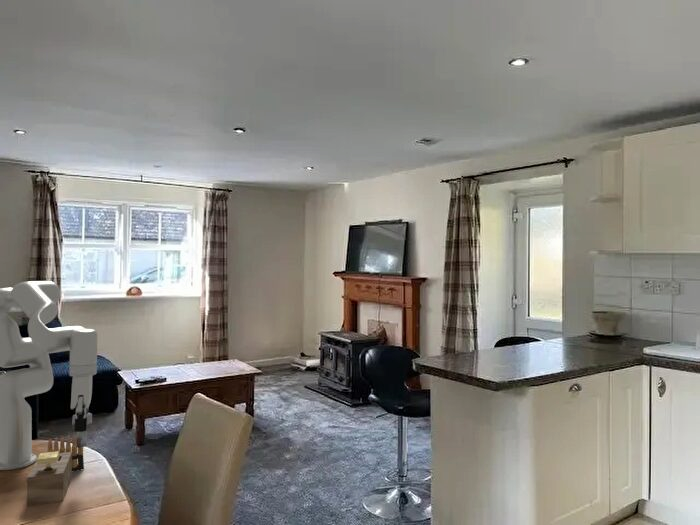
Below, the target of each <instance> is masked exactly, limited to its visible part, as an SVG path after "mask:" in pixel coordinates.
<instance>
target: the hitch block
mask: <svg viewBox="0 0 700 525" xmlns="http://www.w3.org/2000/svg"><path fill="white" fill-rule="evenodd" d="M72 477H73V472H72V451H71V452H66V453H59V459H58V461H57V463H51V470H50V471H46V464H41V465H37V460H36V461H35V462H34V465H33V467H32V468H31V470H30V472H29V473H28V475H27V478H26V481H27V482H26V506H27V507H31V506H36V505H37V506H38V505H43V504H51V503H59V502H63V501H64V500H65V497H66V494H67V492H68V488H69V486H70V483H71V481H72ZM70 480H71V481H70Z"/></svg>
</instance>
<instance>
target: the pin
mask: <svg viewBox="0 0 700 525" xmlns="http://www.w3.org/2000/svg"><path fill="white" fill-rule="evenodd" d="M86 417H87V426H88V425H91V424H92V423H93V413H91V412H89V413H86ZM71 418H72V422H71V423H72V426H74V427H75V418H76V413H75V414H73V415H72V417H71ZM76 442H77V445H76V447H77V449H78V448H81V447H83V448H86V447H88V446H87V444H88V443H87V442H88V429H87V430H86V431H81V432H76Z"/></svg>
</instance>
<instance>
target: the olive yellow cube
mask: <svg viewBox="0 0 700 525" xmlns="http://www.w3.org/2000/svg"><path fill="white" fill-rule="evenodd" d="M58 459H59V451H57V452H48V453H47V452H42V453H39V454H38V456H37V460H36V461H37V465H41V464H46V471H50V470H51V463H57V461H58Z"/></svg>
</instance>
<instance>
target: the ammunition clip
mask: <svg viewBox="0 0 700 525" xmlns="http://www.w3.org/2000/svg"><path fill="white" fill-rule="evenodd" d="M72 436H73V437H72V443H71V437H70V435H69V434H68V435H67V436H66V442H65V438H64V435H62V436H61V438H60V441H59V439H58V437H57V436H56V437H54V441H53V442H54V443H53V442H52V439H51V437H49V439H48V442H47V452H46V453H48V452H57V451H59V453H66V452H72V471H74V472H78V471H77V470H79V471H82V470H81V469H84V470H85V465H84V464H85V463H84V447H81V448H78V447H76V445H77V434H73V435H72ZM59 443H60V444H59ZM71 445H72V446H71Z"/></svg>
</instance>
